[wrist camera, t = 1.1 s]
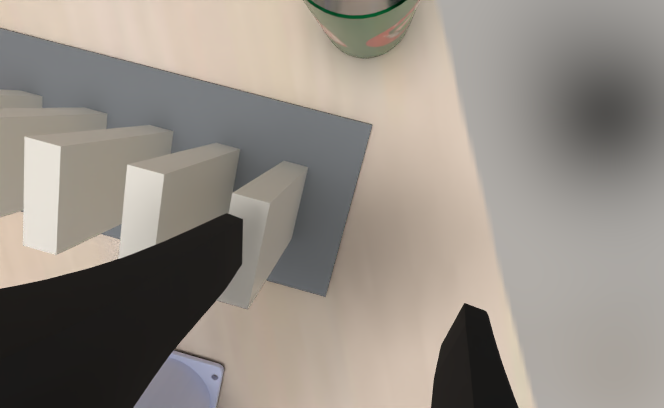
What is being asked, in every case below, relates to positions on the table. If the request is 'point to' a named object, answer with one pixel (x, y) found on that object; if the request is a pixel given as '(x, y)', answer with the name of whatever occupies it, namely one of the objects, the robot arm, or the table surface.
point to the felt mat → (211, 135)
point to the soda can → (364, 23)
